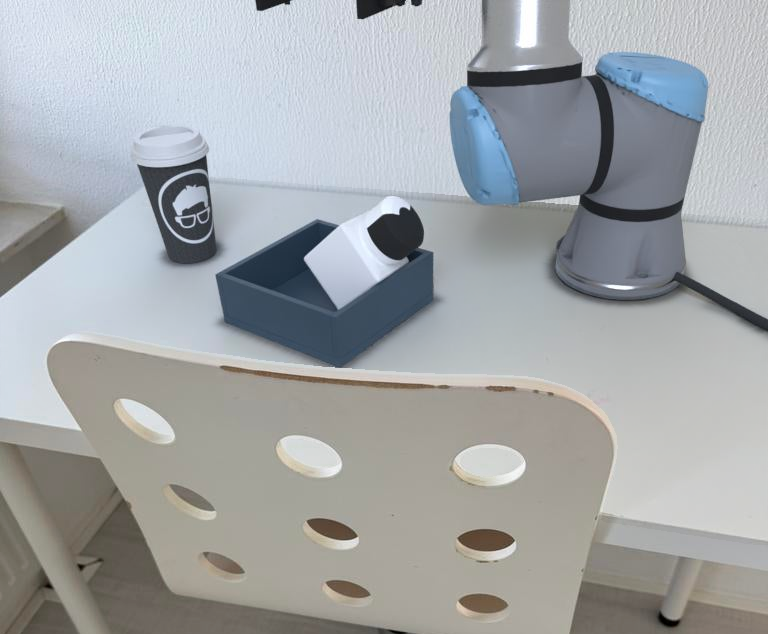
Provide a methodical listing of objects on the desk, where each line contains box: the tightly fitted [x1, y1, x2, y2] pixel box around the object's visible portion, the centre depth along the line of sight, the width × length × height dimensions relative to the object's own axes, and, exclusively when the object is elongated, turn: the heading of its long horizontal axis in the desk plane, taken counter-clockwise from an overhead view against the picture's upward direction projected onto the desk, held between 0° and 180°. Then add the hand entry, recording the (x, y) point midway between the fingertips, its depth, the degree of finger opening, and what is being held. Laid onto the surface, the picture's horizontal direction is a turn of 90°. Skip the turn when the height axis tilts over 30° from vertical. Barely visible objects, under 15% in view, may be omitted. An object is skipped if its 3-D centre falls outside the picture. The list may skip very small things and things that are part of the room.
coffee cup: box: [130, 124, 218, 264], centre depth 99 cm, size 10×10×15 cm
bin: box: [214, 218, 434, 368], centre depth 89 cm, size 18×18×6 cm
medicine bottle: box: [304, 195, 425, 310], centre depth 84 cm, size 7×7×12 cm
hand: (306, 0), depth 85 cm, fingers open, 13 cm apart
